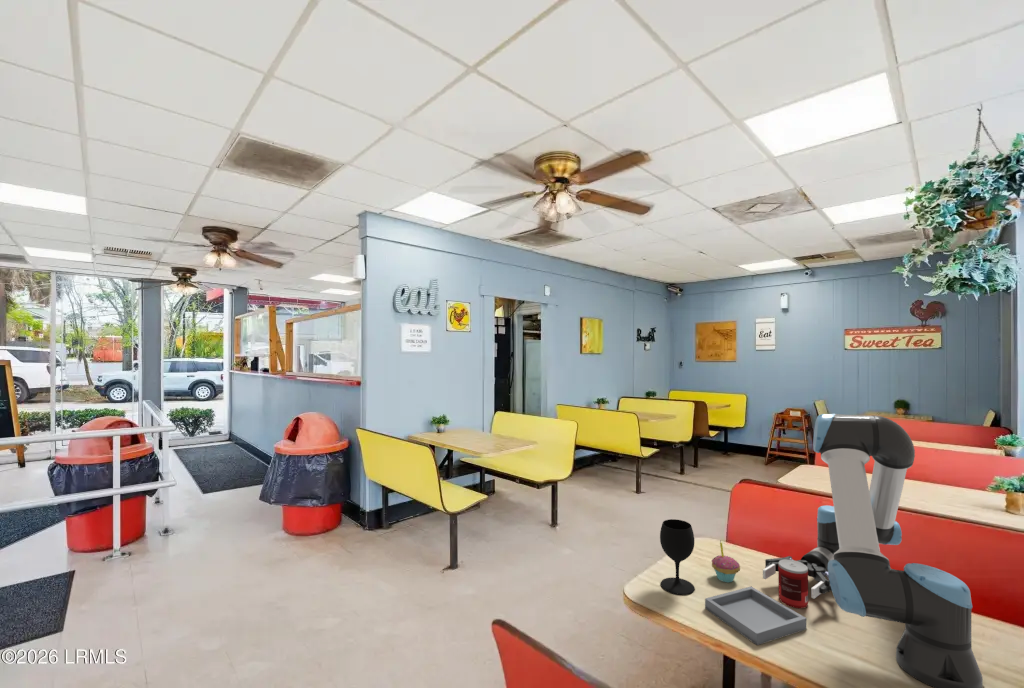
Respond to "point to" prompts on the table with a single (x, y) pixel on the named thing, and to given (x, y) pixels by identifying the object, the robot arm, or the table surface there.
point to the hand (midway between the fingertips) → (787, 583)
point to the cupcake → (725, 567)
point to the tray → (755, 615)
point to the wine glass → (677, 553)
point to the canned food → (793, 583)
